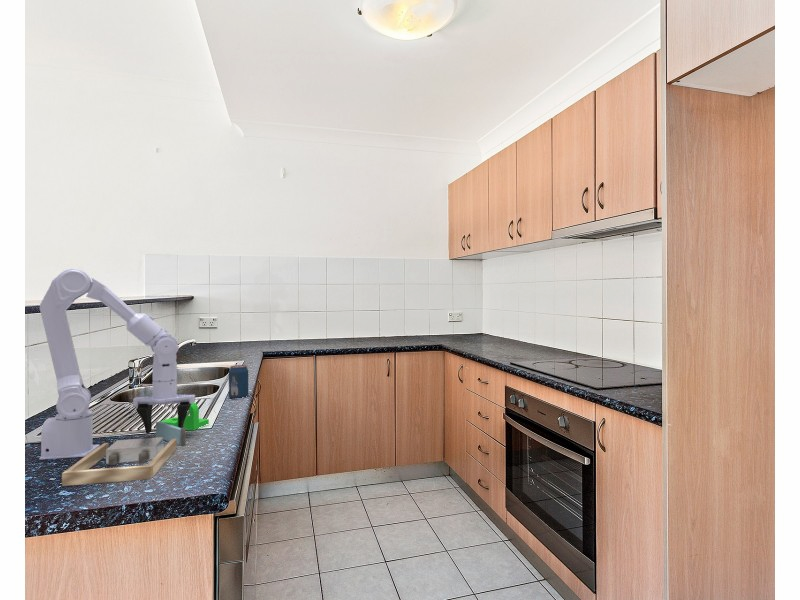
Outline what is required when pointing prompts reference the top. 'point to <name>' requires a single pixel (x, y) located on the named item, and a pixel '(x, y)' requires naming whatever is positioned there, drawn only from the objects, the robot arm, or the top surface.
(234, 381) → the dark blue carton
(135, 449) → the block
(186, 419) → the mechanical part
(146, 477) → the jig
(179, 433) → the bar
